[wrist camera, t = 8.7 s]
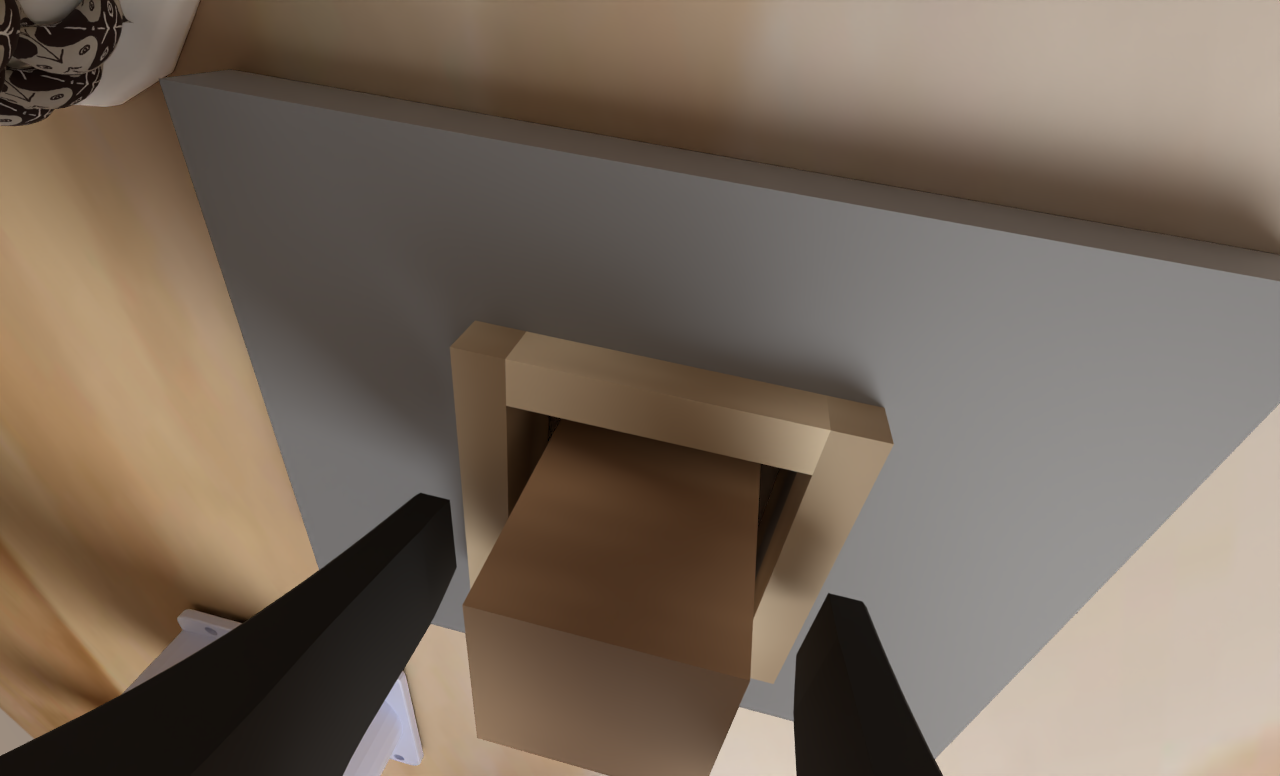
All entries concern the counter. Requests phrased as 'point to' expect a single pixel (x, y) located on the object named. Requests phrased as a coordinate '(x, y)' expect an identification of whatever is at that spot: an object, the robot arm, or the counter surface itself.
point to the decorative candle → (85, 52)
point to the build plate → (729, 359)
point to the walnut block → (618, 606)
